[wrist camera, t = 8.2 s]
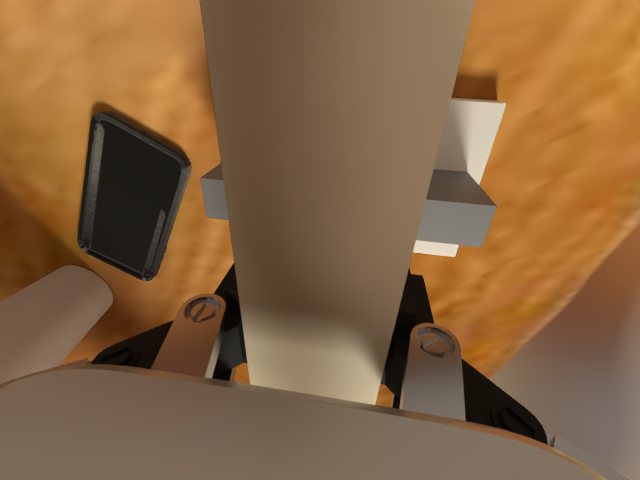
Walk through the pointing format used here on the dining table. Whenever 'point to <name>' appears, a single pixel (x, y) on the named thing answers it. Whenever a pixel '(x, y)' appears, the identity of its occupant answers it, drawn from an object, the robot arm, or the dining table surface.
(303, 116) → the beam
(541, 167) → the dining table surface
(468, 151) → the ridge stand
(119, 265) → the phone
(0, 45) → the dining table surface
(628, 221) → the dining table surface
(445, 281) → the dining table surface
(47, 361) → the coffee cup
